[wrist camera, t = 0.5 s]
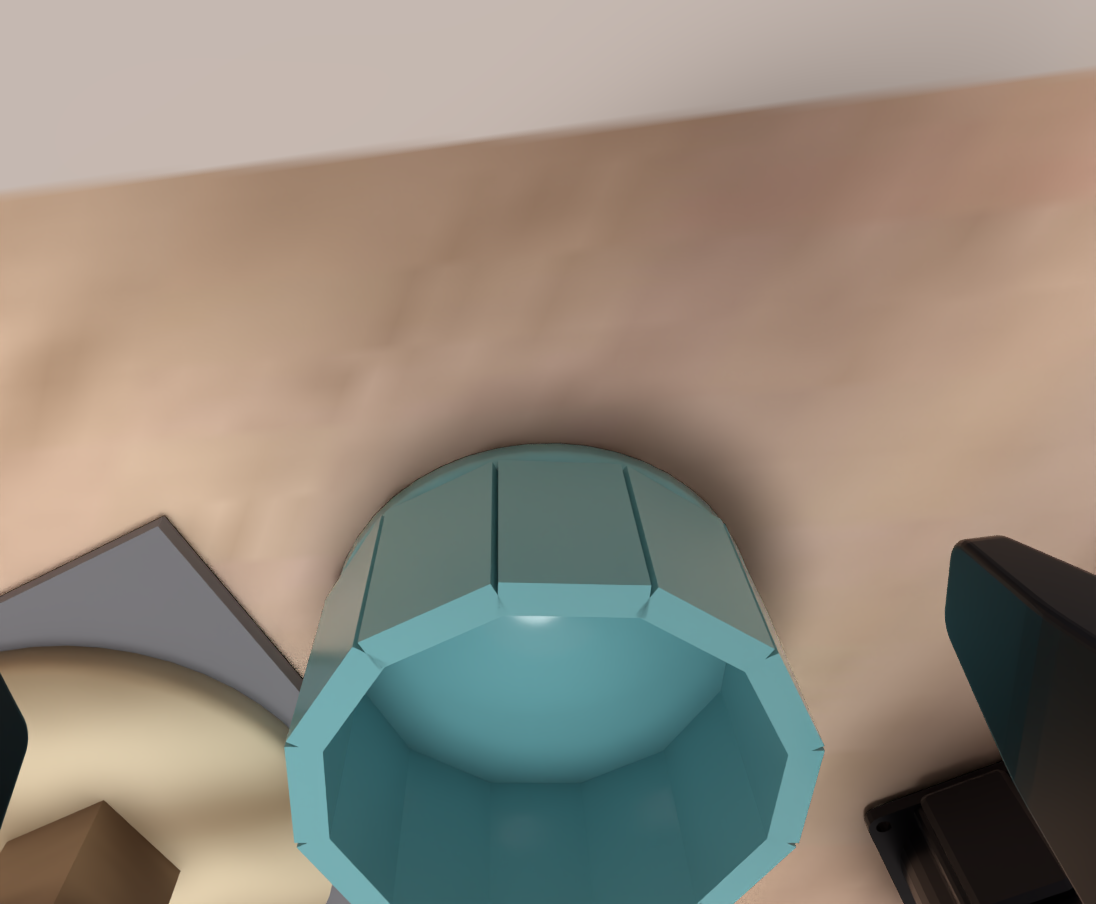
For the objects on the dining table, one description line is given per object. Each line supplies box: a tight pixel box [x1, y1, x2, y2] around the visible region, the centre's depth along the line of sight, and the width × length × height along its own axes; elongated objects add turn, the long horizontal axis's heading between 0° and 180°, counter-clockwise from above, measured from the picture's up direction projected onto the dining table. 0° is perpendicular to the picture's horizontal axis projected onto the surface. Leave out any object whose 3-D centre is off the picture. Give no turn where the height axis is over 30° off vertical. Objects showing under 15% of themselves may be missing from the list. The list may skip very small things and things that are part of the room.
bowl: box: [284, 443, 824, 904], centre depth 23 cm, size 12×12×6 cm
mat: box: [0, 516, 351, 904], centre depth 28 cm, size 16×16×1 cm
